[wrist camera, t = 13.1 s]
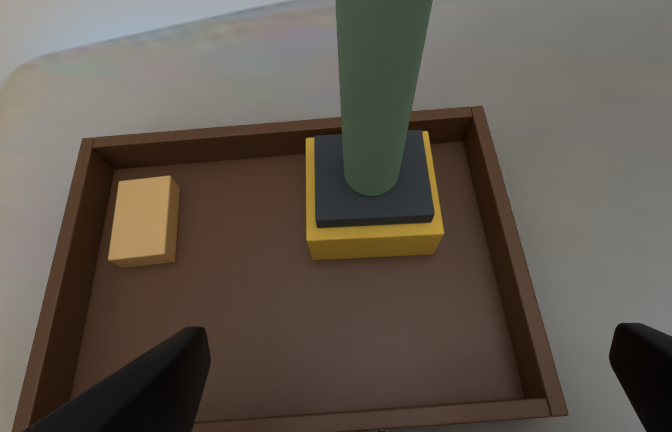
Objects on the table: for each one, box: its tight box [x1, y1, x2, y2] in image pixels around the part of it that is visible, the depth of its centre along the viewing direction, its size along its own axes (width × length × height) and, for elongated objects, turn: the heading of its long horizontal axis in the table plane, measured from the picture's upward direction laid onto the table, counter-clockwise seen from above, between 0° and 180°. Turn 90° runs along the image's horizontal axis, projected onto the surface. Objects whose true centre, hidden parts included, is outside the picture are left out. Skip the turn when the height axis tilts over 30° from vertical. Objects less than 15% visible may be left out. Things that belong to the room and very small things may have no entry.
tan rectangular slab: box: [108, 176, 180, 268], centre depth 19 cm, size 4×2×1 cm, turn 6°
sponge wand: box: [306, 0, 444, 260], centre depth 14 cm, size 5×6×12 cm
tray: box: [12, 106, 568, 432], centre depth 18 cm, size 19×13×3 cm
